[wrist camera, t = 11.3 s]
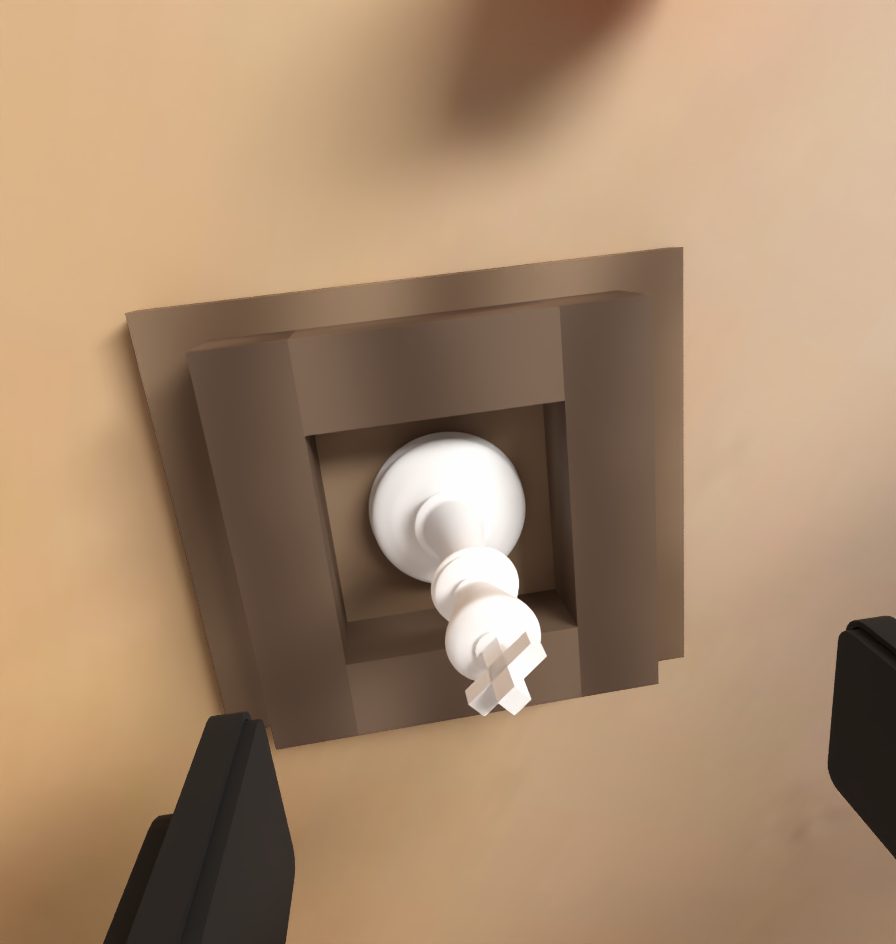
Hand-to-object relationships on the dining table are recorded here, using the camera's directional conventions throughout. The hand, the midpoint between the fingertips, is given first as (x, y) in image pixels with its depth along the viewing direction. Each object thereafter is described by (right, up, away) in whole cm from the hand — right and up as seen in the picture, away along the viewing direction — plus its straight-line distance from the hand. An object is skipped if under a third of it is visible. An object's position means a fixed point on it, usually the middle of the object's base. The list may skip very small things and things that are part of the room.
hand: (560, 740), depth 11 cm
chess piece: (-2, +3, +11) cm, 12 cm away
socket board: (-2, +3, +12) cm, 12 cm away
